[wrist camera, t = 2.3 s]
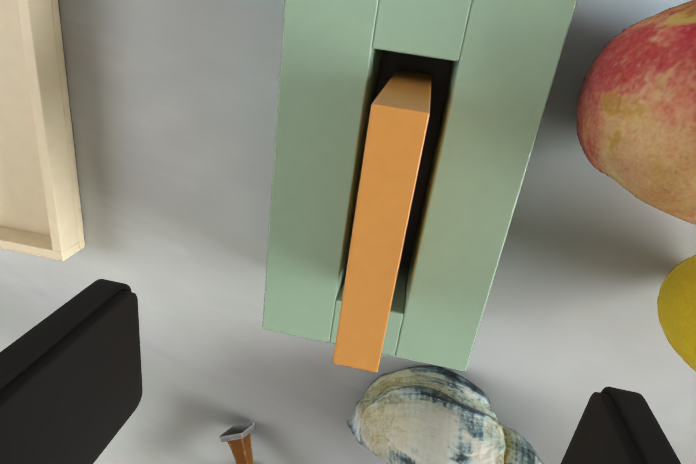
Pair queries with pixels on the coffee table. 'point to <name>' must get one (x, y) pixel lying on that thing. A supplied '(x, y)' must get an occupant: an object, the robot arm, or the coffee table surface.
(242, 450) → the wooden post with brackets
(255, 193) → the coffee table surface
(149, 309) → the coffee table surface
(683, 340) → the lemon
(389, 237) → the toast
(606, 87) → the fruit
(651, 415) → the robot arm
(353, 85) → the toaster
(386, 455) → the seashell
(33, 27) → the tray
